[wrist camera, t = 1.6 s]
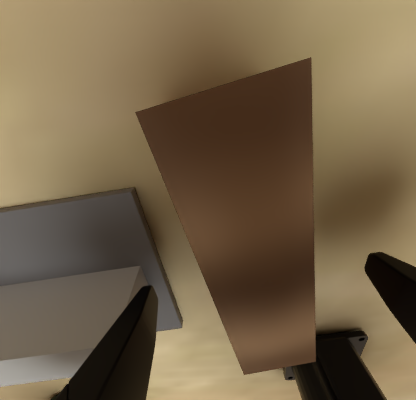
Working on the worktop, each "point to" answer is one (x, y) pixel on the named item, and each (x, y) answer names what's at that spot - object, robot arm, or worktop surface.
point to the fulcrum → (72, 280)
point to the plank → (248, 206)
